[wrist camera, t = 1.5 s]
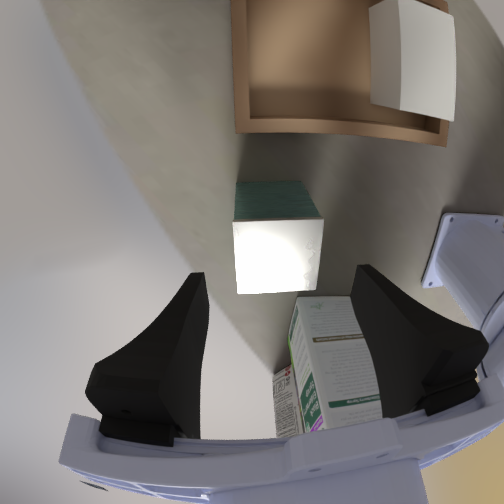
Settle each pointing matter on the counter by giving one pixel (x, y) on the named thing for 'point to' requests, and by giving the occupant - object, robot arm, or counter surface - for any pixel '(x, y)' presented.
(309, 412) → the syrup box
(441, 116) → the white rectangular block
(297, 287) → the tea tin
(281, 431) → the juice carton
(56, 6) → the counter surface
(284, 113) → the wooden tray
